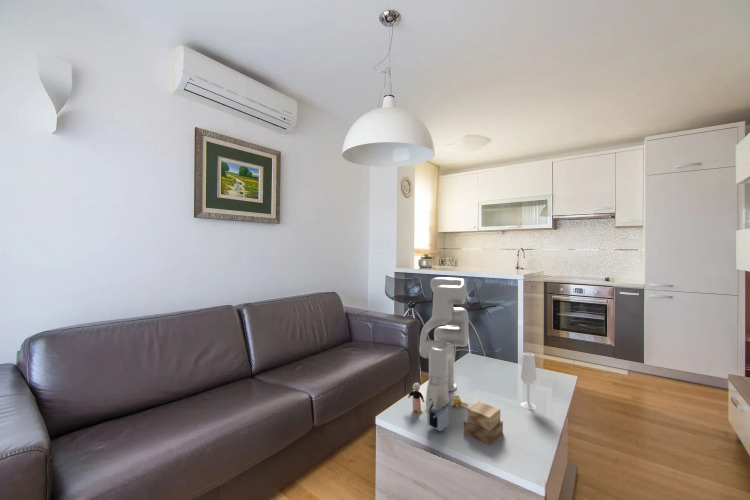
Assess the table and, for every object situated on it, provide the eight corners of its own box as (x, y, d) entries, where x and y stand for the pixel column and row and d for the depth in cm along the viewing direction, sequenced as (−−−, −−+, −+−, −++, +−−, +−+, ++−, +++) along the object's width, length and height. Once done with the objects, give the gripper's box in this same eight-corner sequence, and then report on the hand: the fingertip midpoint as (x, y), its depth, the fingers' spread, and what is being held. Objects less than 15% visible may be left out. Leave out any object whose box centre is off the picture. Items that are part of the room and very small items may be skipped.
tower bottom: (463, 434, 125) (463, 421, 125) (476, 423, 133) (476, 411, 133) (491, 446, 117) (491, 432, 117) (502, 434, 125) (502, 421, 125)
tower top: (467, 421, 125) (467, 408, 125) (478, 413, 131) (479, 401, 131) (489, 431, 119) (489, 417, 119) (500, 422, 125) (500, 409, 125)
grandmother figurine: (425, 411, 142) (425, 382, 142) (423, 415, 139) (424, 385, 139) (408, 408, 145) (408, 380, 145) (406, 412, 141) (406, 383, 141)
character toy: (451, 402, 144) (447, 394, 152) (451, 409, 144) (447, 401, 152) (469, 402, 144) (464, 395, 151) (469, 410, 144) (464, 401, 151)
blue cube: (427, 425, 127) (427, 410, 127) (435, 419, 132) (435, 404, 132) (440, 431, 123) (440, 415, 123) (448, 424, 128) (448, 410, 128)
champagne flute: (538, 410, 144) (538, 357, 144) (522, 408, 145) (522, 355, 146) (533, 403, 151) (534, 352, 151) (518, 401, 152) (519, 351, 152)
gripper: (441, 369, 136) (441, 411, 136) (417, 381, 124) (417, 428, 124) (457, 374, 131) (457, 418, 131) (434, 387, 118) (433, 436, 119)
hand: (437, 422), depth 128 cm, fingers closed on blue cube, 6 cm apart
